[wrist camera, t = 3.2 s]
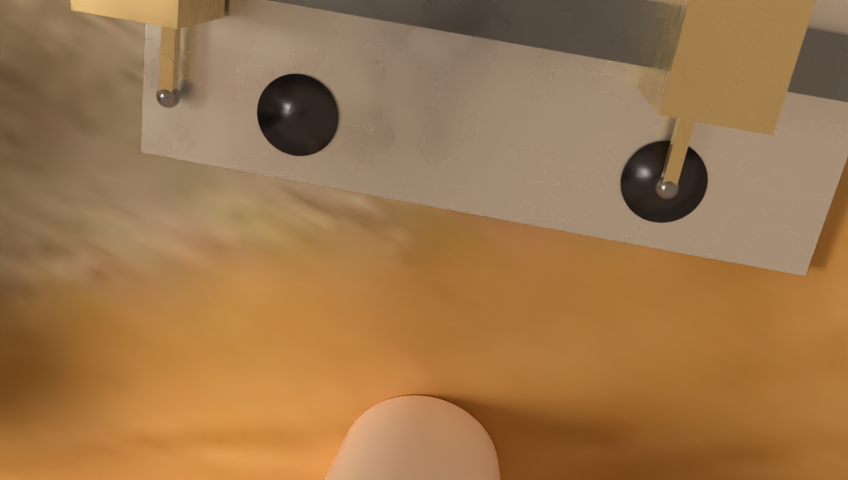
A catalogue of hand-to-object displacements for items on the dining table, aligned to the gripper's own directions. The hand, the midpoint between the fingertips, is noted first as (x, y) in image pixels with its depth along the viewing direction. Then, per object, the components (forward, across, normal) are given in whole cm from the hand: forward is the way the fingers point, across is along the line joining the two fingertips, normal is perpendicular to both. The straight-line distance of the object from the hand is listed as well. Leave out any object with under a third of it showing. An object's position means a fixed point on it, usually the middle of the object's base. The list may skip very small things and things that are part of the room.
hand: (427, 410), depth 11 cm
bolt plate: (+27, 0, 0) cm, 27 cm away
